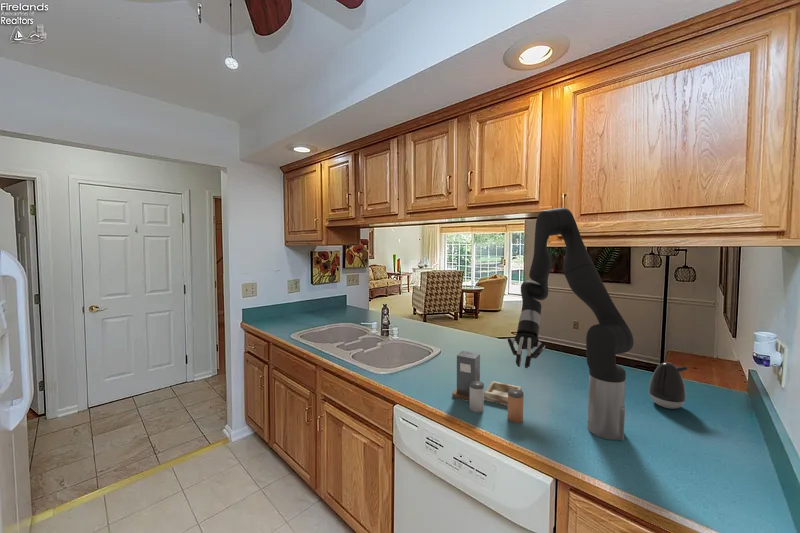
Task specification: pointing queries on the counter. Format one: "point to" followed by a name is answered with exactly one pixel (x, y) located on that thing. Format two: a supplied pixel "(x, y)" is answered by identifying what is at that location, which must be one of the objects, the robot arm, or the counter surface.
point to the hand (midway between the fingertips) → (522, 366)
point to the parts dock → (498, 392)
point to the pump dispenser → (668, 386)
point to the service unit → (466, 373)
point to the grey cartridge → (476, 396)
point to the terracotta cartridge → (515, 405)
